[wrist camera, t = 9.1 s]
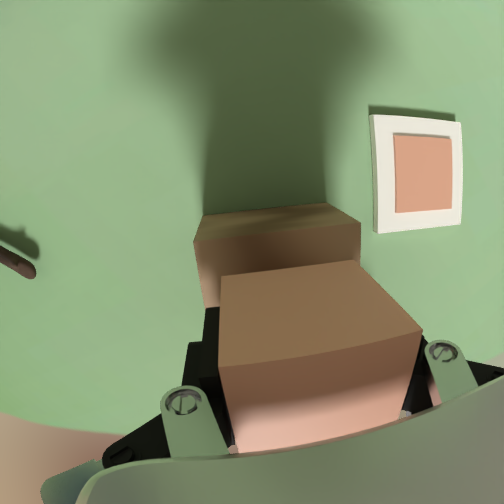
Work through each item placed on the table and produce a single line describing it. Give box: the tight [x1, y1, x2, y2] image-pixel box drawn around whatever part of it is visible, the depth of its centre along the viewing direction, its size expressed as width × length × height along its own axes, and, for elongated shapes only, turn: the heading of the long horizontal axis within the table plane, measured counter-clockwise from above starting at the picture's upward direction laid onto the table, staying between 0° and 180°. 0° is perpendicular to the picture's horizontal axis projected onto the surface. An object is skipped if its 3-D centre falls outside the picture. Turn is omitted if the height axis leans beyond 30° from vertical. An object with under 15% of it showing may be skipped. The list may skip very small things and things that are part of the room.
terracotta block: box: [218, 260, 423, 453], centre depth 10 cm, size 5×5×5 cm
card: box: [369, 115, 463, 234], centre depth 16 cm, size 7×7×1 cm
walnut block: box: [193, 203, 361, 310], centre depth 16 cm, size 7×7×5 cm
